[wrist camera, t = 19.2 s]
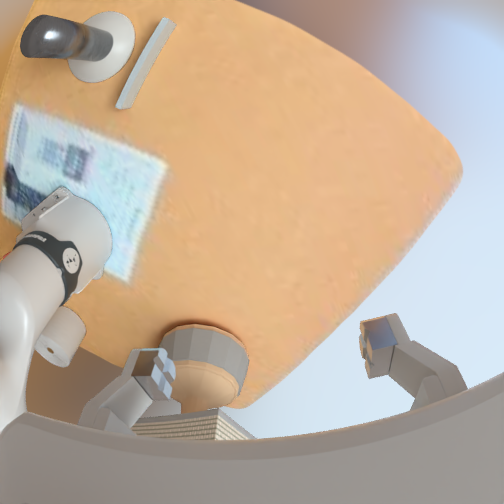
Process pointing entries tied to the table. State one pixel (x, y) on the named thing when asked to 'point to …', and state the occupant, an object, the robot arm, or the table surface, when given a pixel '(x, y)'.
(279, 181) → the table surface
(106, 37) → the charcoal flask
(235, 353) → the desk lamp
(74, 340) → the toilet tissue
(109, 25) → the resting pad
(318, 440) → the robot arm
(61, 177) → the table surface
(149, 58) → the acrylic wall
